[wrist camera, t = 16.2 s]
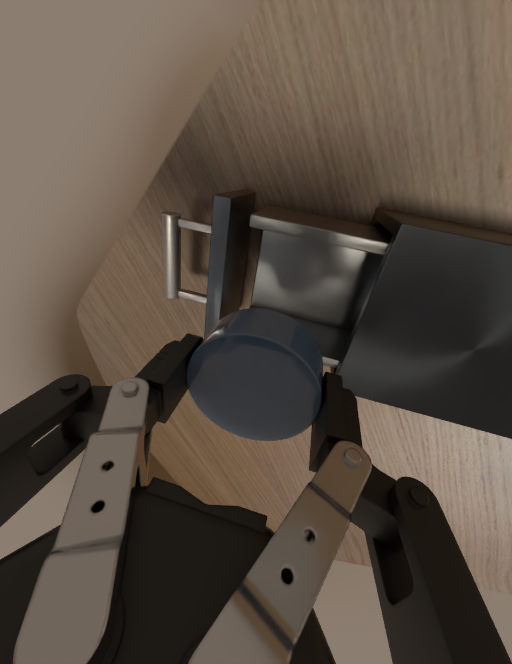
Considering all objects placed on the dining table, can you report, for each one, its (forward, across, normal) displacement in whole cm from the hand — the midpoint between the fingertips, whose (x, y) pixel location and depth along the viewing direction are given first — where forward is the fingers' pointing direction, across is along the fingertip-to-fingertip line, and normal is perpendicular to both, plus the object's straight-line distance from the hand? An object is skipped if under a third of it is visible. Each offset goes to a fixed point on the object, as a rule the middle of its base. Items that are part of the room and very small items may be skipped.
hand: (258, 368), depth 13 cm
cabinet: (+15, -13, -1) cm, 20 cm away
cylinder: (+1, 0, 0) cm, 1 cm away
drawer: (+15, +2, 0) cm, 15 cm away
